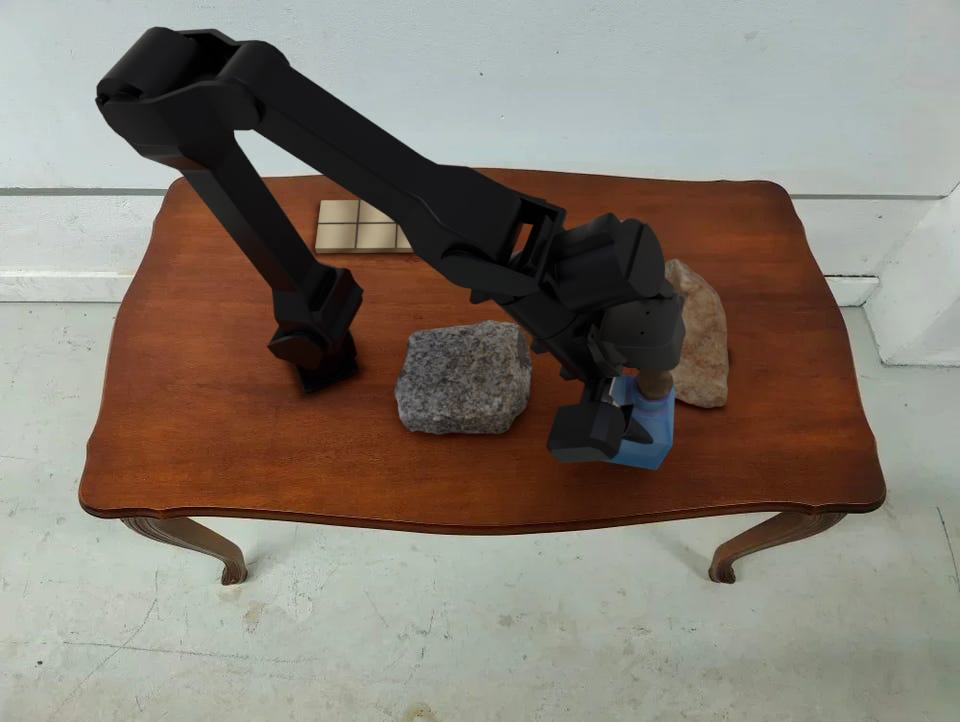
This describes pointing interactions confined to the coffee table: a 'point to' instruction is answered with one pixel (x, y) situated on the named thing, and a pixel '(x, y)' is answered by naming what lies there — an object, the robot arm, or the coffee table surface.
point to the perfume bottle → (647, 415)
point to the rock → (464, 378)
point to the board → (357, 229)
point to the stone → (700, 340)
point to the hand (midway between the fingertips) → (656, 411)
